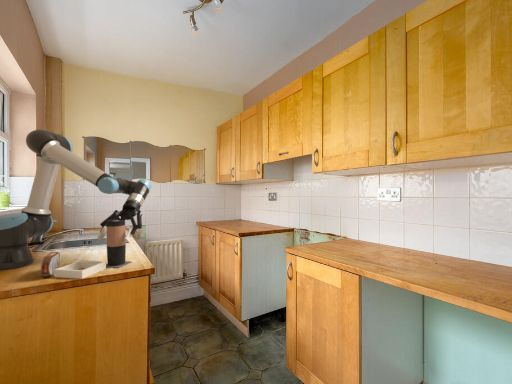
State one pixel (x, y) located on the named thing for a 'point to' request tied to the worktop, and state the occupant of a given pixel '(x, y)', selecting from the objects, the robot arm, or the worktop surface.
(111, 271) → the worktop surface
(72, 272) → the tray rim
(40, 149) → the robot arm
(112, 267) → the mat
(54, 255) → the brown arched piece
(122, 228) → the travel mug
